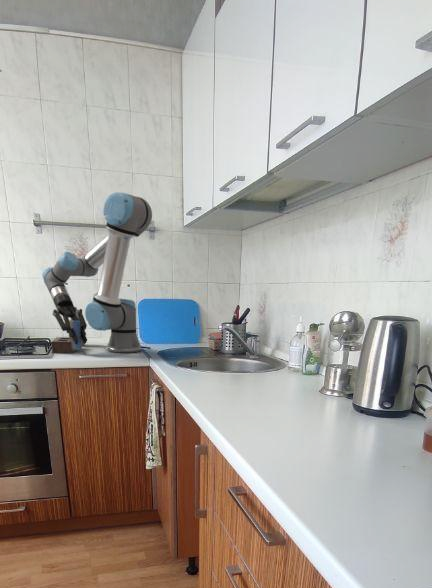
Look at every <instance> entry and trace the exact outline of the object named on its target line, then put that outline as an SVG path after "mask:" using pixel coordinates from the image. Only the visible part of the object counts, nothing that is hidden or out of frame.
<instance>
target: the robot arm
mask: <svg viewBox="0 0 432 588" xmlns="http://www.w3.org/2000/svg"><path fill="white" fill-rule="evenodd" d="M102 208H103V209H102V213H103V215H104V220H105V221H106V225H105V227H106V229H107V231H108V233H107V234H106V235H105V236H104V237H102V239H101V240H100V241H99V242H97V243H96V244H95V245H94V246H93V247H92V248H91V249H90V250H89V251H88V252H87V253H86V254H84V255H83V256H82V257H79V258H78V257H77V256H76V255H75V254H74V253H72V252H70V251H64V252H63V253H62V254H61V255H60V257H59V258H58V260H57V261H56V263H55V264H54V265H53V266H52V267H47V268H46V269H44V270H43V272H42V279H43V283H44V284H45V286H46V288H47V291H48V293H49V295H50V297H51V300H52V301H53V304H54V306H55V308H56V309H53V310H52V315H53V317H54V318H55V319H56V321H57V323H58V325H59V327H60V328H61V330H62V332H66V333H67V334H68V337H69V336H70V337H72V338H73V341H74V343H75V344H77V343H78V338H77V336H76V334H75V332H74V329H73V328H71V326H70V322H69V320H71V319H72V320H73V321H79V320H80V329H81V338H82V340H83V343H84V345H86V344H87V342H88V338H87V332H86V329H87V327H88V325H89V326H90V328H92V329H94V330H95V331H103V332H104V331H109V330H110V337H109V341H108V343H107V351H108V352H111V353H120V354H121V353H122V354H123V353H124V354H127V353H128V354H131V353H139V352H141V351H142V350H141V349H148V350H151V348H152V347H151V346H150V347H149V346H142V345H141V344H140V341H139V337H138V334H137V306H136V302H135V301H134V300H133V299H129V298H128V299H126V298H119V296H120V292H121V288H122V287H121V286H122V283H123V276H124V272H125V269H126V268H125V266H126V263H127V262H126V261H127V257H128V253H129V252H128V251H129V248H130V245H131V244H130V243H131V240H132V239H134V238H135V237H136V238H137V237H140V236H141V235H142V234H143V233H144V232H145V231H146V230H147V229H148V228H149V227H150V225H151V223H152V220H153V211H152V208H151V205H150V204H149V202H148V201H147V200H145V198H142V197H140V196H135V195H133V194H129V193H127V192H119V191H117V192H112V193H111V194H109V195H108V196H107V197H106V199H105V201H104V203H103V207H102ZM101 266H102V269H101V273H100V279H99V285H98V290H97V291H96V293H94V294H93V298H92V301H91V302H90V303H88V304H87V305H86V307H85V309H84V314H83V309H82V308H80V309H78V308H77V307H76V306H74V302H73V300H72V299H71V296H70V293H69V292H68V290H67V289H68V288H67V287H66V285H65V284H66V283H67V282H68V280H69V279H70V278H71V277H86V278H90V277H94V276H96V275H97V274H98V272H99V268H100V267H101ZM75 307H76V308H77V309H76V308H75ZM75 312H76V313H77V315H78V317H79V319H78V318H77V316H76V313H75ZM84 316H85V317H84ZM69 318H70V319H69ZM86 321H87V322H86ZM87 323H88V324H87Z"/></svg>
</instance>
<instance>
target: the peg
mask: <svg viewBox="0 0 432 588" xmlns="http://www.w3.org/2000/svg"><path fill="white" fill-rule="evenodd" d="M72 328H73V329H74V332H75V334H76V336H77V338H78V343H77V344H75V343H74V351H79V350H81V351H82V350H83V346H82V342H81V329H80V321H72ZM73 342H74V341H73Z"/></svg>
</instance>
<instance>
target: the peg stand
mask: <svg viewBox="0 0 432 588" xmlns="http://www.w3.org/2000/svg"><path fill="white" fill-rule="evenodd" d="M50 343H51V353H52V354H73V353H75V350H74V342H73V338H72V337H69V336H68V337H67V336H66V337H65V336H64V337H63V336H56V337H55V338H54V339H53V340H51V342H50Z"/></svg>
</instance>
